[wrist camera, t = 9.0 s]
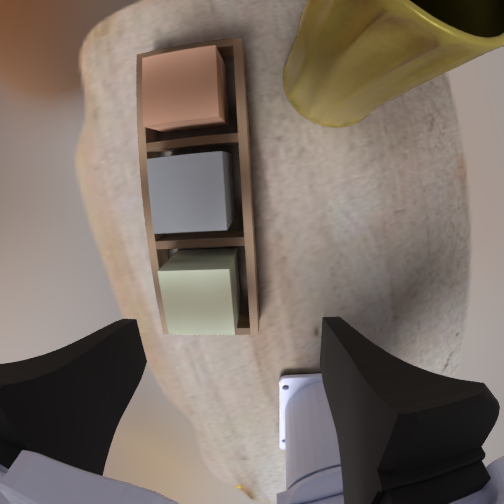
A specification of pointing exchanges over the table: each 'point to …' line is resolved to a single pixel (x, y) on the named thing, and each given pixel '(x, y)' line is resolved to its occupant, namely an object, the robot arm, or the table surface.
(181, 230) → the grey block
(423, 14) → the vase
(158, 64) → the walnut rack
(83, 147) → the table surface
